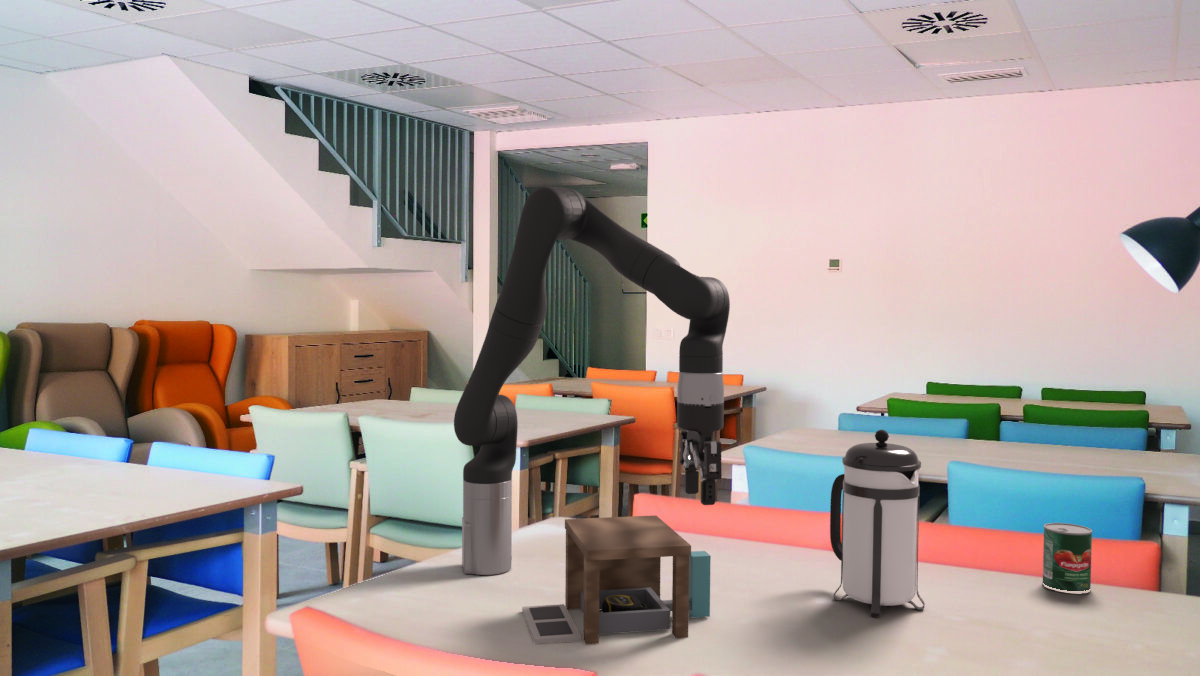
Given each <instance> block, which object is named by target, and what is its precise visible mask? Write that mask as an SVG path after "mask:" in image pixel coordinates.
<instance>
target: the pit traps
mask: <svg viewBox="0 0 1200 676" xmlns="http://www.w3.org/2000/svg"><path fill="white" fill-rule="evenodd" d="M521 609H522V610H521V612H522V614H523V617H524V620H525V622H526V625H527V627H528V631H529V633H530V635H531V638H532V641H533V643H534V645H545V644H547V645H548V644H560V643H573V642H581V641H582V637H581V634H580V632H579V630H578V628H577V626H576V624H575V622H574V620H573V619H572V616H571V615H570V613H569V610H567V608H566V606H565V603H561V604H560V603H559V604H548V605H547V604H545V605H531V606H529V605H528V606H522V607H521Z"/></svg>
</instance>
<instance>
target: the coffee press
mask: <svg viewBox="0 0 1200 676" xmlns="http://www.w3.org/2000/svg"><path fill="white" fill-rule="evenodd" d="M889 437H890V435H889V433H888V431H887V430H885V429H879V430H877V431H876V432H875V434H874V438H875V440H876V441H877V442H863V443H858V444H856V445H853V446H851V447H850V448H848V449H847V451H846V452H845V455H844V456H843V457H842V458H841V459H842V466H843V467H844V473H842V474H839V475H837V476H836V478H835V479H834V481H833V483H832V486H831V491H830V505H829V506H830V509H829V512H830V514H829V515H830V516H829V517H830V518H829V535H830V537H829V539H830V545H831V548H832V551H833V553H834V556H836V557H837V559H838V560H839V561H841V563H840V564H841V566H840V568H841V569H840V584H839V586H838V587H837V588H836V590H835V591H834V593H833V599H834V600H835V601H836V602H837V601H838V602H840V601H842V600H844V599H845V598H847V597H849V598H851V599H853V600H855V601H858V602H860V603H865V604H869V605H871V609H870V611H871V612H870V613H871V614H870V616H871V617H874V618H881V606H886V607H887V606H891V607H892V606H899V605H905V604H910V605H911V606H913V608H915V609H916V610H917V611H923V610H924V609H925V601H924V599H923V598H922V597H921V595H920V594H919V591H918V589H919V586H918V582H919V581H918V579H919V578H918V576H919V573H918V572H919V535H920V534H919V532H920V531H919V528H920V527H919V526H920V489H921V487H920V483H919V471H920V470H921V468H922V462H921V460H919V458H918V455H917V453H916V452H915V451H914V450H913V449H911V448H909V447H908V446H904V445H901V444H897V443H896V444H894V443H890V442H889V443H887V441H888V440H889ZM841 587H842V588H843V591H844V595H843V596H841V597H838V596H836V594H837V592H838V591H839V590H840V588H841ZM915 596H917V597H918V599H919V601H920V602H921V603H922V604H923V605H922V606H921V607H920V606H918V605H916V603H914V601H912V600H913V599H914V598H915Z"/></svg>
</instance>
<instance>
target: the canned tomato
mask: <svg viewBox="0 0 1200 676" xmlns="http://www.w3.org/2000/svg"><path fill="white" fill-rule="evenodd" d="M1092 542H1093V530H1092V529H1091V528H1089V527H1087V526H1084V525H1080V524H1073V523H1065V522H1051V523H1050V522H1049V523H1045V524H1044V525H1043V549H1042V551H1043V552H1042V553H1043V554H1042V555H1043V556H1042V562H1043V563H1042V583H1044V584H1045V585H1047V586H1049V587H1052V588H1056V589H1060V590H1067V591H1084V590H1085V591H1086V590H1089V589H1091V587H1092V586H1091V583H1092V582H1091V581H1092V551H1093V549H1092V547H1093V546H1092Z"/></svg>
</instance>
